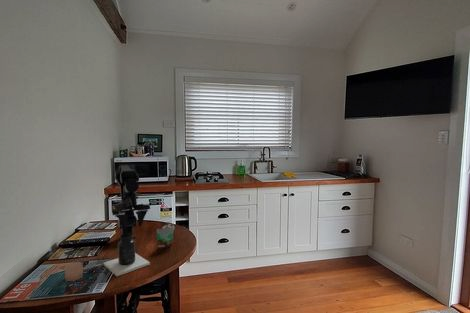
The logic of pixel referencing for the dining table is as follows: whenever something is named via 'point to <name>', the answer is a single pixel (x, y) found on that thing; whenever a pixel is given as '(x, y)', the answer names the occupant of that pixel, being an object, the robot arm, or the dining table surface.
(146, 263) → the pad
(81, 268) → the tan rounded piece
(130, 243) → the supplement bottle
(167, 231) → the food container
